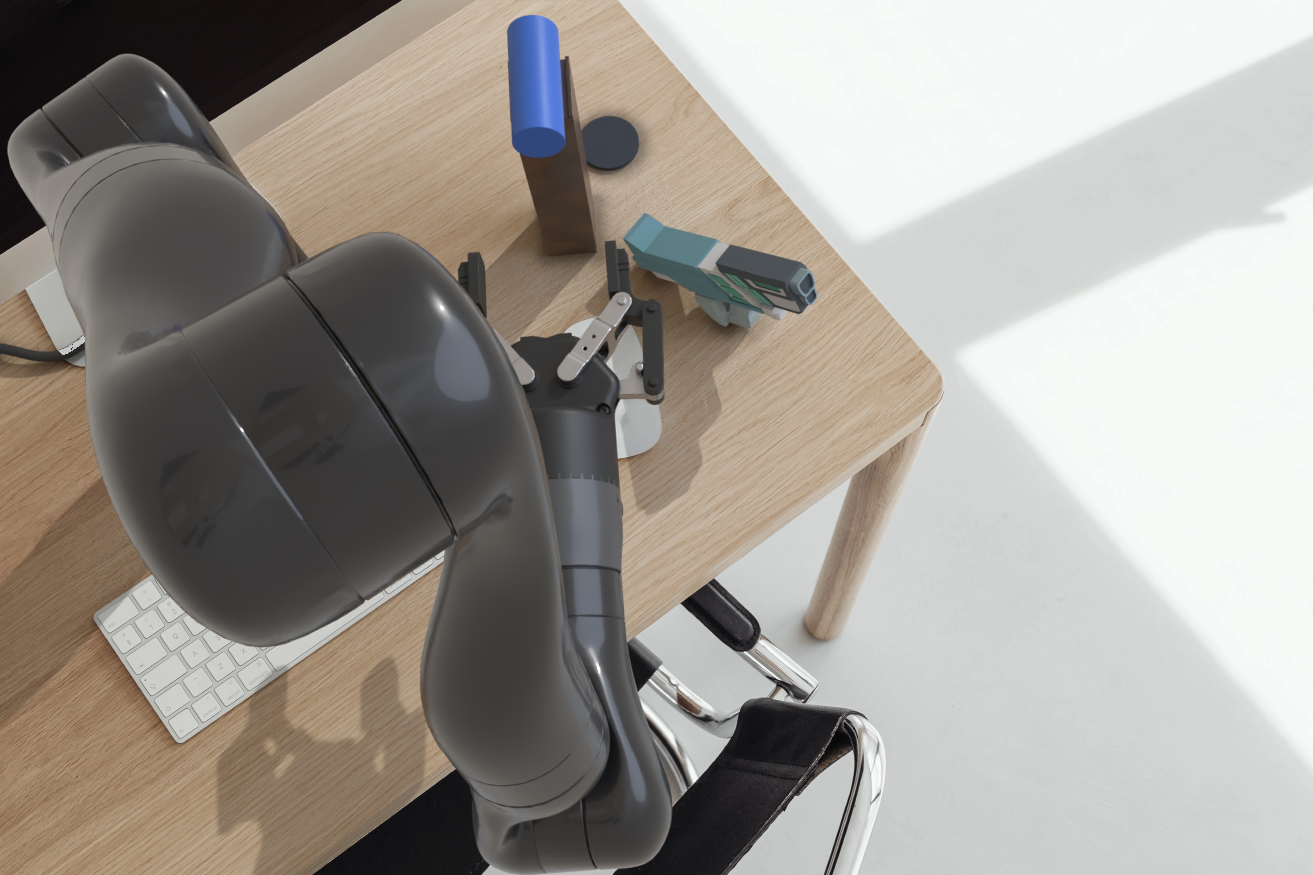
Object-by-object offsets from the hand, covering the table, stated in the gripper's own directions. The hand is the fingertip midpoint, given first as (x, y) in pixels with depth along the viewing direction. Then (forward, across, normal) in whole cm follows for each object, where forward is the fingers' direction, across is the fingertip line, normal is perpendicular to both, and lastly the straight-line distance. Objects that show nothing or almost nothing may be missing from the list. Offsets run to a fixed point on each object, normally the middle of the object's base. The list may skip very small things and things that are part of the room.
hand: (543, 252), depth 63 cm
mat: (+23, -4, +24) cm, 34 cm away
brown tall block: (+15, 0, +24) cm, 28 cm away
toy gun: (+7, -12, +24) cm, 28 cm away
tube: (+14, 0, +2) cm, 14 cm away
